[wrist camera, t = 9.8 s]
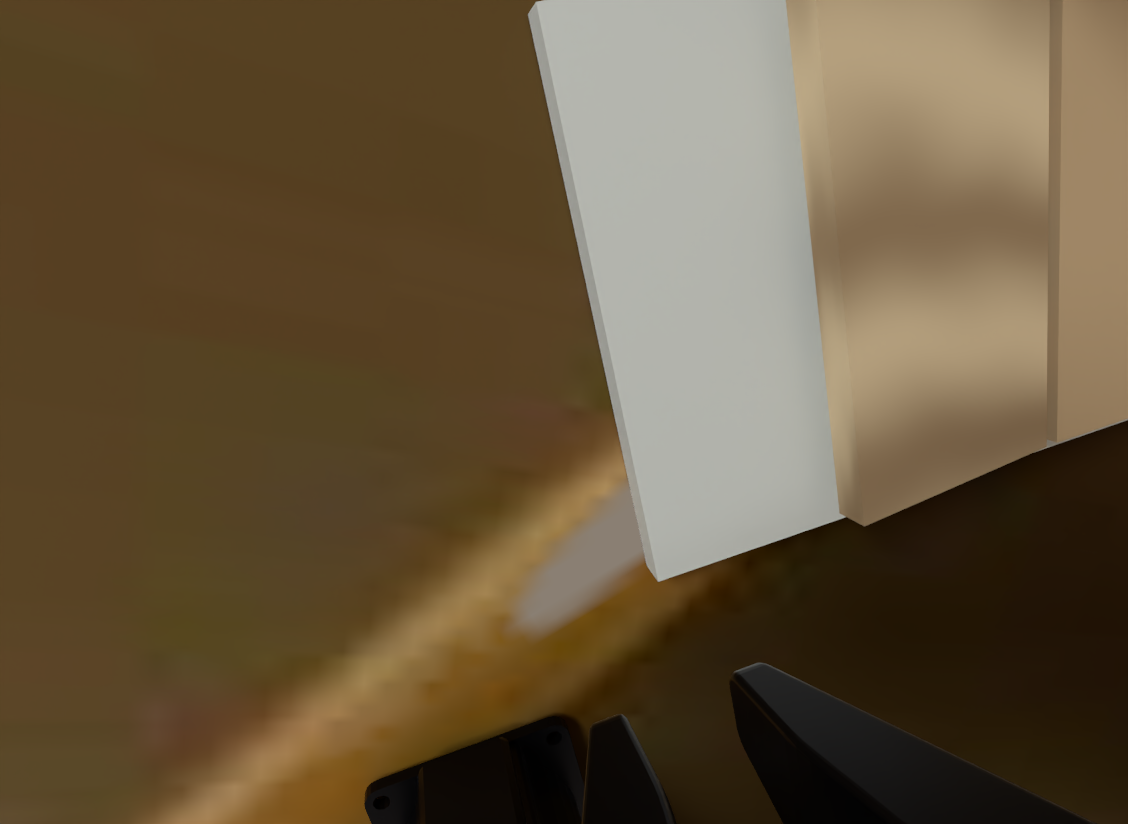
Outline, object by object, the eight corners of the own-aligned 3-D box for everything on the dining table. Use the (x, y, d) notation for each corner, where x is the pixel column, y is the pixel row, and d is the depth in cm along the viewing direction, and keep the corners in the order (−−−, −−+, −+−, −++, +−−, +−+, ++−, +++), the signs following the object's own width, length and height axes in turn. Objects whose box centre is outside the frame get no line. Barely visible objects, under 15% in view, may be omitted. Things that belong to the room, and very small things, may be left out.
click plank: (1016, 438, 22) (1046, 446, 21) (839, 513, 20) (864, 526, 19) (1011, -59, 17) (1050, -75, 16) (783, -19, 16) (812, -34, 15)
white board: (1168, 388, 24) (1232, 403, 22) (646, 565, 21) (670, 599, 19) (1203, -122, 19) (1289, -158, 17) (527, 14, 16) (545, -12, 14)
